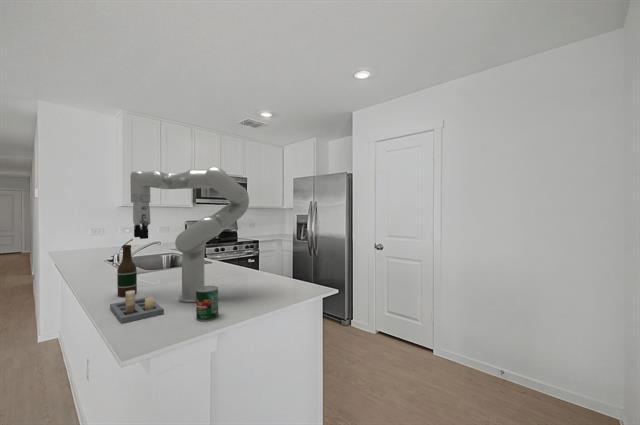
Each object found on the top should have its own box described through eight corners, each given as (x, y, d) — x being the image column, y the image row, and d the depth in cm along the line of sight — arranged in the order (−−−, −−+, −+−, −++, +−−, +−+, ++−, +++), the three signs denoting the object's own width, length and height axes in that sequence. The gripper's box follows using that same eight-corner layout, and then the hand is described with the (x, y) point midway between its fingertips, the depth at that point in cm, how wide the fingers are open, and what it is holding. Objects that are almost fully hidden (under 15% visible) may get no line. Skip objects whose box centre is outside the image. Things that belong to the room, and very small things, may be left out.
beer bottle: (140, 293, 145) (140, 244, 144) (125, 298, 137) (125, 246, 137) (128, 292, 147) (128, 243, 147) (113, 296, 140) (112, 245, 139)
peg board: (163, 314, 116) (163, 298, 116) (121, 323, 106) (121, 307, 106) (148, 301, 132) (148, 288, 132) (110, 309, 122) (109, 294, 122)
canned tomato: (220, 313, 117) (220, 285, 117) (216, 320, 109) (216, 290, 109) (199, 314, 116) (199, 286, 116) (193, 321, 108) (193, 291, 108)
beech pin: (135, 317, 113) (135, 291, 112) (126, 319, 110) (126, 292, 110) (133, 315, 115) (133, 289, 115) (124, 317, 113) (124, 291, 113)
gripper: (155, 199, 129) (156, 238, 129) (144, 200, 141) (145, 236, 141) (135, 198, 123) (136, 239, 124) (126, 199, 136) (126, 237, 136)
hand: (141, 237), depth 132 cm, fingers open, 9 cm apart
